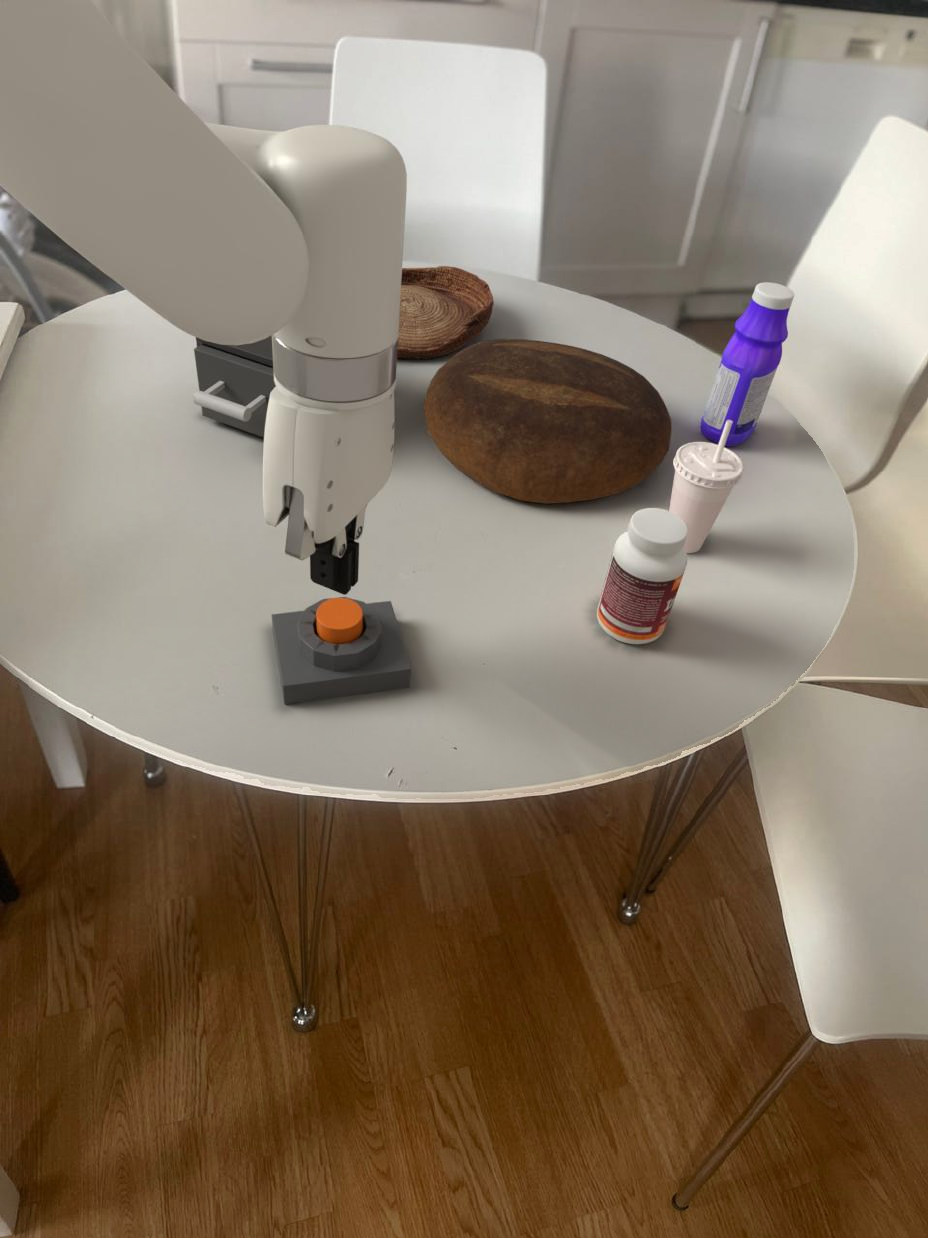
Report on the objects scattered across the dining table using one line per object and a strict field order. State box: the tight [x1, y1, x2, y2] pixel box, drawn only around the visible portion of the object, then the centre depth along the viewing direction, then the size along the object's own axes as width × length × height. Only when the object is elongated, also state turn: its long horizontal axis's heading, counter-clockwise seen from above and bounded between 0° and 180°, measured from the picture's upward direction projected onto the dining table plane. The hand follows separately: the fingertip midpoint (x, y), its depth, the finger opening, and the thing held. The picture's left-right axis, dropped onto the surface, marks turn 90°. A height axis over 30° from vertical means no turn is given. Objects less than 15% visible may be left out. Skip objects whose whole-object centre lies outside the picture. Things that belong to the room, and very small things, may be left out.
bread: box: [423, 338, 673, 504], centre depth 97 cm, size 28×27×9 cm
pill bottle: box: [596, 507, 688, 645], centre depth 75 cm, size 6×6×11 cm
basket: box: [397, 265, 495, 360], centre depth 115 cm, size 22×20×5 cm
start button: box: [316, 597, 363, 645], centre depth 70 cm, size 4×4×2 cm
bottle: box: [700, 281, 795, 447], centre depth 98 cm, size 7×6×17 cm
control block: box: [271, 596, 412, 705], centre depth 71 cm, size 10×8×4 cm
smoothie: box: [668, 420, 745, 554], centre depth 84 cm, size 6×6×14 cm
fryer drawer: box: [192, 345, 276, 438], centre depth 94 cm, size 18×11×8 cm, turn 155°
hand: (334, 582), depth 67 cm, fingers closed
